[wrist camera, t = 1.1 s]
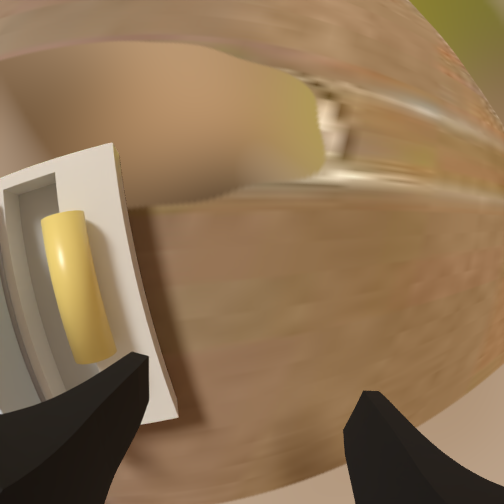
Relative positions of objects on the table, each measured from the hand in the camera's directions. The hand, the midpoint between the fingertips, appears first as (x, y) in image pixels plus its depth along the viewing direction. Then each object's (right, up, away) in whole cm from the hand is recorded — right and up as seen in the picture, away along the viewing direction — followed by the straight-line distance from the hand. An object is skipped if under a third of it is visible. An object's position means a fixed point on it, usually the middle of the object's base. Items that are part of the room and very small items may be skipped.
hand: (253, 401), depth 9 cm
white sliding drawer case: (-13, +1, +12) cm, 18 cm away
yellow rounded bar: (-11, +3, +8) cm, 13 cm away
